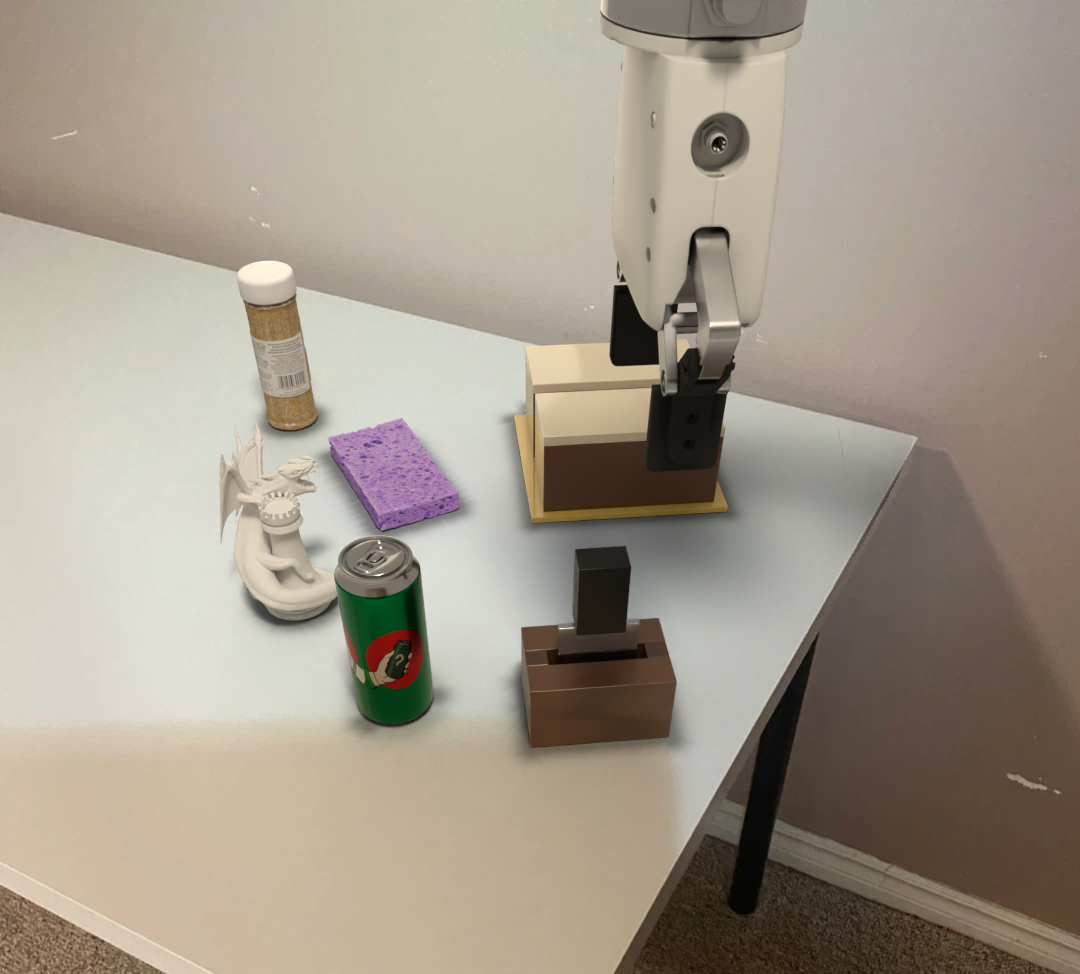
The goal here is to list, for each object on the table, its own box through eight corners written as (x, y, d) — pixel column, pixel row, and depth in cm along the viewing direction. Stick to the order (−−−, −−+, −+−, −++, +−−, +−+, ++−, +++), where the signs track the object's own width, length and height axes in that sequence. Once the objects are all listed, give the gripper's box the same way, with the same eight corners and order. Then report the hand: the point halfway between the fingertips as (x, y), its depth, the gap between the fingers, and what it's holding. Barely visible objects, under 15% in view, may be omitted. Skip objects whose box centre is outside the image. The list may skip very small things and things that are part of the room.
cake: (687, 410, 94) (696, 334, 88) (727, 511, 83) (740, 431, 77) (514, 419, 92) (512, 342, 87) (531, 523, 81) (531, 442, 76)
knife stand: (652, 672, 70) (658, 617, 66) (669, 737, 66) (677, 681, 62) (521, 682, 69) (521, 626, 65) (530, 747, 65) (530, 692, 61)
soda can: (448, 692, 68) (436, 547, 60) (404, 740, 65) (384, 595, 57) (387, 665, 70) (366, 521, 61) (342, 711, 67) (313, 566, 58)
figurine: (355, 617, 73) (331, 473, 65) (249, 644, 71) (209, 499, 63) (320, 534, 80) (294, 394, 72) (222, 556, 78) (182, 415, 70)
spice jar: (316, 404, 94) (291, 256, 84) (320, 429, 91) (294, 279, 81) (266, 409, 93) (234, 260, 84) (268, 435, 90) (236, 284, 81)
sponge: (405, 436, 90) (403, 417, 89) (461, 510, 83) (460, 490, 81) (329, 455, 88) (326, 435, 87) (380, 533, 80) (377, 513, 79)
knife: (628, 695, 68) (642, 544, 59) (633, 717, 67) (649, 565, 58) (554, 701, 68) (557, 549, 59) (557, 722, 66) (561, 570, 57)
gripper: (886, 47, 31) (782, 511, 44) (745, -64, 43) (695, 327, 56) (647, 51, 31) (611, 521, 43) (570, -63, 42) (559, 332, 55)
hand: (658, 411), depth 49 cm, fingers open, 9 cm apart
